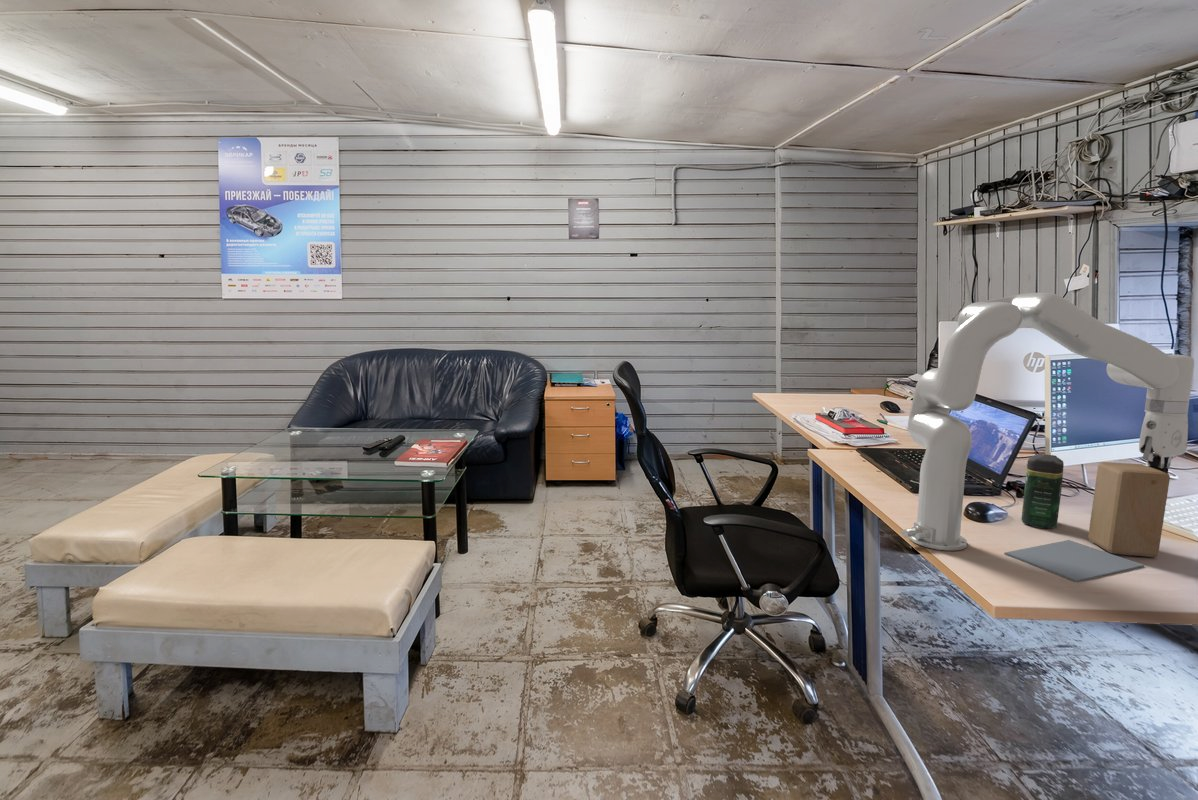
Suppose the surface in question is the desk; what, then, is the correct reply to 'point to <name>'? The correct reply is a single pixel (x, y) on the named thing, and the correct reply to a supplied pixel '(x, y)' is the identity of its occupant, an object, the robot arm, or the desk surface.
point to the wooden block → (1128, 508)
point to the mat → (1073, 560)
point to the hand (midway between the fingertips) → (1156, 482)
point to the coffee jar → (1042, 491)
